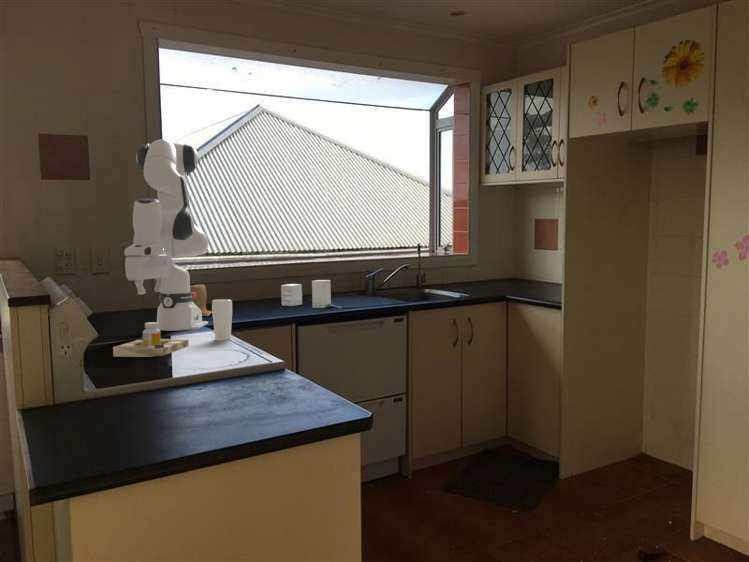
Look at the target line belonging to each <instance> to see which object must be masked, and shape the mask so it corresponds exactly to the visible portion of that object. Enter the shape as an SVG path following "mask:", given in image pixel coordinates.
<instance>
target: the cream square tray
mask: <svg viewBox="0 0 749 562" xmlns="http://www.w3.org/2000/svg"><path fill="white" fill-rule="evenodd" d="M188 346H189V339H178V338H174V339H172V338H161V344H155V346H143V335H142V336H140V338H139V339H136V340H134V341H133V340H132V341H130V342H126V343H125V342H124V343H123V344H120V345H116V346H113V347H112V352H113V355H112V357H114V358H118V357H119V358H120V357H121V358H146V357H147V358H153V357H163V356H166V355H169V354H170V353H171V354H172V353H173V352H176V351H178V350H182V349H184V348H186V347H188Z"/></svg>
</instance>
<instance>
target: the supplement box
mask: <svg viewBox="0 0 749 562" xmlns="http://www.w3.org/2000/svg"><path fill="white" fill-rule="evenodd" d="M280 287H281V288H280V289H281V290H280V291H281V293H280V294H281V295H280V296H281V306H283V307H285V306H286V307H295V306H299V305H300V306H301V305H303V288H302V287H303V285H302V284H301V283H299V284H298V283H287V284H281V285H280Z"/></svg>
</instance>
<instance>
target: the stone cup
mask: <svg viewBox="0 0 749 562" xmlns="http://www.w3.org/2000/svg"><path fill="white" fill-rule="evenodd" d="M206 288H207V287H206V286H205V284H195V285H190V292H195V294H196V296H195V297H192V298H193V303H194V304H195V305H196V306H197V307H198V308H199V309H200V310H201V312H202V316H207V317H209V316H211V315H212V314H211V313H212V310H208V309H207V306H206V305H207V289H206ZM210 314H211V315H210Z"/></svg>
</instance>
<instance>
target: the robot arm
mask: <svg viewBox="0 0 749 562" xmlns="http://www.w3.org/2000/svg"><path fill="white" fill-rule="evenodd" d="M135 159H136V160H135V161H136V163H137V166H138V168H139V169H140V170H141V171H142V172H143V179H144V180H145V182H146V183H147V184H148V186H150V187H151V188H152V189H154V190H156V191H157V198H152V197H151V198H150V197H145V198H138V199H136V200H135V201H134V204H133V212H132V231H133V232H134V234H133V235H134V236H133V244H131V245H130V246H128V247H126V248H124V251H123V252H124V253H123V254H124V256H125V260H124V262H125V263H124V264H125V265H124V267H125V268H124V269H125V277H126V278H127V280H128V281H134V284H135V287H136V289H137V295H145V294H146V288H144V285H143V284H144V280H152V279H153V280H155V286H154V289H153V291H154V292H155V293H159V297H158V299H159V303H160V304H159V306H158V307H157V314H156V322H157V323H158V327H157V329H159V330H160V331H164V332H165V331H168V332H169V331H171V332H172V331H175V332H176V331H187V330H188V331H189V330H196V329H197V330H198V329H201V328H202V327H203V326H206V325H207V324H208V325H209V321H206V320H203V317H202V312H201V310H200V309H199V308H198V307H197V306H196V305H195V304H194V303H193V298H192V297H195V296H196V294H195V292H190V286H191V281H190V280H191V279H190V276H191V275H190V272H189V271H188V270H187V269H186V268H184V267H182V266H180V265H178V264H176V263H175V262H174V260H173V258H193V257H198V256H203V255H204V254H205V253H206V252H207V250H208V247H209V238H208V235H206V233H205V232H204V231H203V230H202V229H200V228H199V227H198V226H197V225H196V224H195V221H194V217H193V216H192V212H191V204H190V198H189V191H188V184H187V177H188V176H190V174H191V173H193V172H194V171H195V170H196V169H197V167H198V164H199V154H198V151H197V148H196V147H195V146H194V145H192V144H190V143H177V142H176V143H175V142H171V141H169V140H166V139H156V140H154V141H152V142H151V144H150V143H144V144H141V145H140V146H139V147H138V148H137V151H136V157H135ZM186 176H187V177H186Z"/></svg>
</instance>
